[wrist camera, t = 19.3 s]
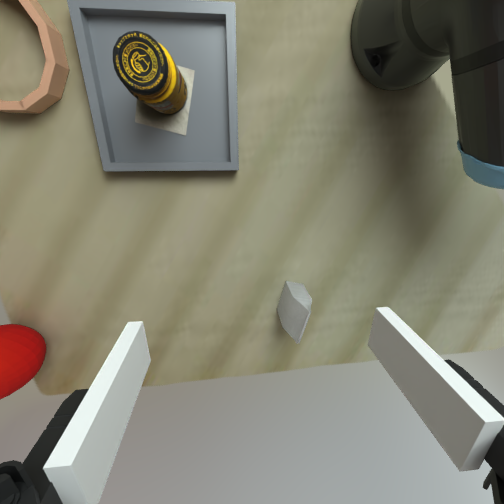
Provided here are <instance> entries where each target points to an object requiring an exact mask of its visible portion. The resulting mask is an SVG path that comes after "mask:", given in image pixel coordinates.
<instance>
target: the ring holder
mask: <svg viewBox="0 0 504 504" xmlns="http://www.w3.org/2000/svg"><path fill="white" fill-rule="evenodd" d="M19 2H20V3H21V4H22V6H23V7H24V8H25V10H26V11H27V13H28V14H29V15H30V17H31V18H32V19H33V21H34V22H35V23H36V25H37V26H38V30H39V34H40V38H41V42H42V46H43V49H44V53H45V57H46V63H45V67H44V71H43V75H42V79H41V82H40V86H39V87H38V88H37V89H36V90H34V91H33V92H32V93H30V94H29V95H28V96H26V97H25V98H24V99H22V100H21V101H2V100H0V111H2V112H8V113H42V112H43V111H45V110H46V109H47V108H49V107H50V106H51V105H53V104H54V103H55V102H57V101H58V100H60V99H61V98H62V94H63V91H64V87H65V84H66V80H67V77H68V73H69V66H68V62H67V58H66V53H65V49H64V45H63V40H62V36H61V34H60V32H59V31H58V30H57V28H56V27H55V25H54V24H53V22H52V21H51V20H50V18H49V17H48V15H47V14H46V13H45V11H44V10H43V8H42V7H41V5H40V4H39V3H38V1H37V0H19Z"/></svg>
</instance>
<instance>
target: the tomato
mask: <svg viewBox="0 0 504 504" xmlns="http://www.w3.org/2000/svg"><path fill="white" fill-rule="evenodd" d="M45 353H46V344H45V341H44V339H43V337H42V336H41V335H40V334H39V333H38V332H37V331H35V330H33V329H31V328H29V327H26V326H22V325H17V324H7V325H0V399H2V398H4V397H6V396H8V395H10V394H12V393H13V392H15V391H16V390H18V389H20V388H21V387H23V386H24V385H25V384H26V383H28V382H29V381H30V380H31V379H32V378H33V377H34V376H35V375H36V374H37V372H38V371H39V369H40V368H41V366H42V364H43V361H44V358H45Z"/></svg>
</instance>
